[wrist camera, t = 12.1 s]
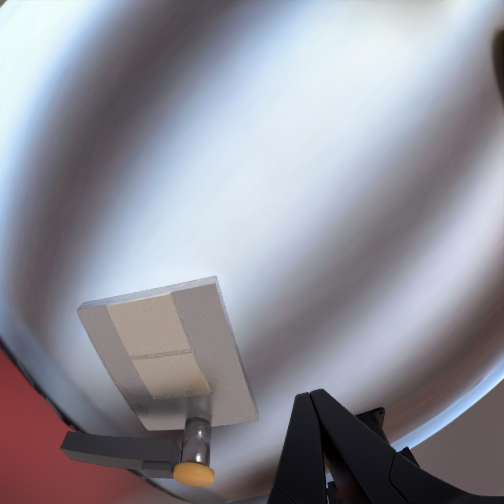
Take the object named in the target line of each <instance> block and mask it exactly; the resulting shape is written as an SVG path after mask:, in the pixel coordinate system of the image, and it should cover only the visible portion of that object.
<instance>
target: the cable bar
mask: <svg viewBox="0 0 504 504" xmlns="http://www.w3.org/2000/svg"><path fill="white" fill-rule="evenodd" d="M60 449H61V450H62V451H63V452H64V453H65V454H66V455H67V456H68V457H69V458H70V459H71V460H76V461H80V462H85V463H91V464H96V465H102V466H109V467H116V468H124V469H134V470H143V471H144V472H145V473H146V474H147V475H148V476H149V477H152V478H172V479H175V480H176V481H178V482H180V483H182V484H185V485H189V486H196V487H203V486H208V485H211V484H213V483H214V471H213V470H212V469H211V468H210V467H208V466H205V465H202V464H198V463H180V464H179V460H180V452H181V450H180V448H179V447H178V446H177V444H176V443H175V441H174V440H173V439H147V438H124V437H111V436H100V435H91V434H84V433H77V432H70V431H68V432H67V434H66V436H65V439H64V441H63V443H62V445H61V447H60Z"/></svg>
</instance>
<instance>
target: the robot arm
mask: <svg viewBox="0 0 504 504" xmlns="http://www.w3.org/2000/svg"><path fill="white" fill-rule="evenodd" d="M384 415H385V409H384V408H383V407H381V408H378V409H376V410H373V411H370V412H367V413H364V414H361V415H358V416H354V415H353V414H352V413H350V412H349V411H348V410H347V409H346V408H345V407H343V406H342V405H341V404H340V403H339V402H338V401H337V400H335V399H334V398H333V397H332V396H331V395H330V394H329V393H327V392H326V391H325V390H324V389H318V390H314V391H311V392H310V394H309V393H308V392H306V393H302V394H298V395H296V396H295V400H294V405H293V409H292V413H291V418H290V422H289V426H288V430H287V434H286V438H285V442H284V446H283V450H282V453H281V457H280V461H279V465H278V468H277V472H276V475H275V479H274V482H273V487H272V488H271V492H270V495H269V498H268V501H267V504H328V500H327V495H328V499H329V504H504V496H481V495H474V494H471V493H468V492H465V491H463V490H461V489H459V488H457V487H455V486H452V485H451V484H449V483H447V482H444V481H443V480H441V479H439V478H437V477H435V476H433V475H431V474H429V473H428V472H426V471H424V470H423V469H421V468H420V466H419V465H418V463H417V461H416V460H415V458H414V456H413V455H412V453H411V451H410V450H409V448H408V446H407V447H405V448H403V450H401V451H400V452H396V450H395V449H394V448H392V447H391V446H390V444H389V442H388V440H387V437H386V435H385V433H384V431H383V429H382V426H383V421H384ZM323 455H324V456H323ZM324 458H325V460H326V463H327V465H328V468H329V470H330V472H331V475H332V477H333V480H334V481H331V482H328V483H327V484H328V488H326V477H325V466H324Z"/></svg>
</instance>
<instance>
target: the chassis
mask: <svg viewBox="0 0 504 504" xmlns="http://www.w3.org/2000/svg"><path fill="white" fill-rule="evenodd" d="M77 312H78V315H79V317H80V319H81V321H82V323H83V325H84V327H85V329H86V331H87V333H88V335H89V337H90V339H91V341H92V343H93V345H94V347H95V349H96V351H97V352H98V354H99V356H100V358H101V360H102V361H103V363H104V365H105V367H106V368H107V370H108V372H109V374H110V375H111V377H112V379H113V380H114V382H115V383H116V385H117V387H118V388H119V390H120V391H121V393H122V395H123V396H124V398H125V399H126V401H127V402H128V404H129V405H130V407H131V408H132V410H133V411H134V413H135V414H136V415H137V417H138V418H139V420H140V421H141V422H142V424H143V425H144V426H145V428H146V429H147V430H177V429H184V435H183V442H182V450H181V457H180V463H198V464H202V465H205V466H208V467H209V464H210V442H211V427H215V426H223V425H231V424H238V423H245V422H252V421H258V420H259V418H258V410H257V407H256V404H255V401H254V398H253V395H252V392H251V389H250V386H249V383H248V380H247V376H246V373H245V370H244V367H243V364H242V361H241V357H240V354H239V351H238V348H237V344H236V341H235V338H234V335H233V331H232V328H231V325H230V321H229V318H228V314H227V311H226V308H225V304H224V301H223V297H222V294H221V290H220V287H219V283H218V279H217V276H212V277H208V278H203V279H198V280H194V281H189V282H184V283H179V284H174V285H170V286H165V287H160V288H155V289H150V290H145V291H140V292H135V293H130V294H125V295H120V296H115V297H110V298H105V299H100V300H95V301H90V302H85V303H82V304H81V306H80V307H79V308H78V309H77Z"/></svg>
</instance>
